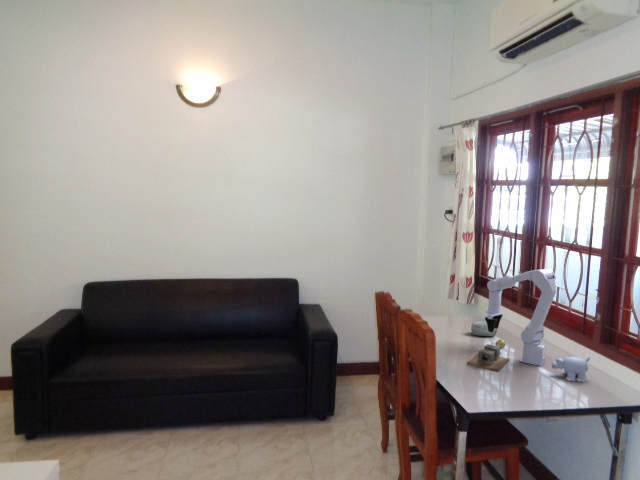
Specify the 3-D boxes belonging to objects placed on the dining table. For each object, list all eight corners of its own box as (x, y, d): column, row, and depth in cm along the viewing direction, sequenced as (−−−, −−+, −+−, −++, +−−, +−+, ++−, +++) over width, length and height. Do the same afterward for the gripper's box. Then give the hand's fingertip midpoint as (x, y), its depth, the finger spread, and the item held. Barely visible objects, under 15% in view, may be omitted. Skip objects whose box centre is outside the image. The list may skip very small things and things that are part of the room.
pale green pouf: (497, 327, 273) (494, 314, 268) (499, 339, 265) (497, 326, 260) (471, 330, 277) (468, 317, 272) (473, 343, 269) (470, 330, 264)
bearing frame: (509, 360, 232) (510, 347, 231) (498, 371, 218) (499, 357, 217) (479, 354, 240) (480, 341, 239) (467, 364, 226) (467, 350, 225)
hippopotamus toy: (548, 370, 221) (550, 349, 220) (585, 373, 218) (586, 352, 217) (553, 379, 211) (555, 357, 210) (592, 383, 208) (594, 361, 207)
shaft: (505, 349, 242) (505, 340, 241) (490, 362, 224) (491, 352, 224) (495, 347, 245) (496, 338, 244) (481, 360, 227) (481, 350, 226)
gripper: (490, 299, 253) (489, 325, 255) (481, 305, 242) (480, 332, 243) (505, 301, 249) (503, 327, 251) (496, 307, 238) (495, 334, 239)
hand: (493, 330), depth 247 cm, fingers open, 7 cm apart
